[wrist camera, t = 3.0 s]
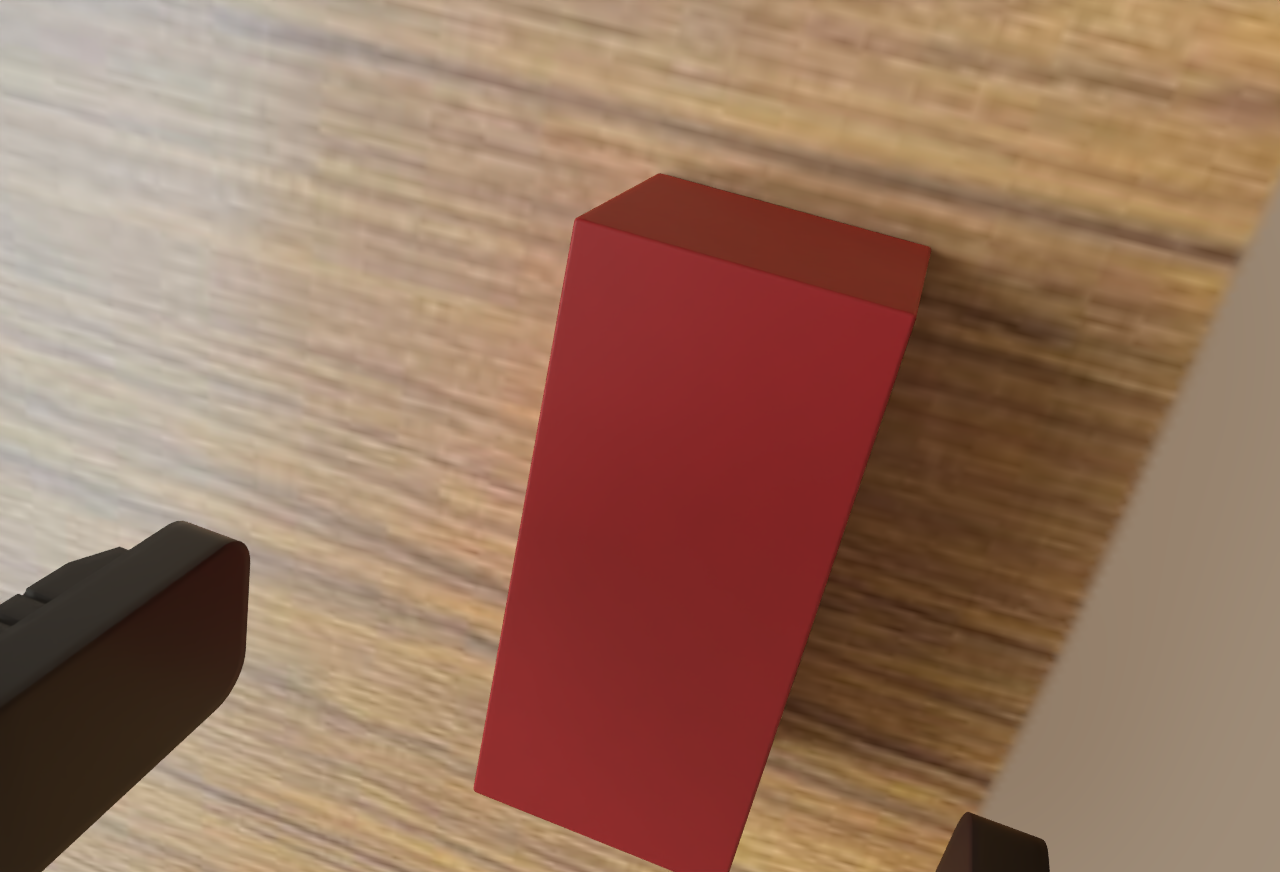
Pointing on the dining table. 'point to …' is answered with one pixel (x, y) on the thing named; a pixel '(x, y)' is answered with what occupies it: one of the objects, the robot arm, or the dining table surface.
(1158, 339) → the dining table surface
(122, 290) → the dining table surface
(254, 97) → the dining table surface
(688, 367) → the red rectangular block
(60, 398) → the dining table surface
